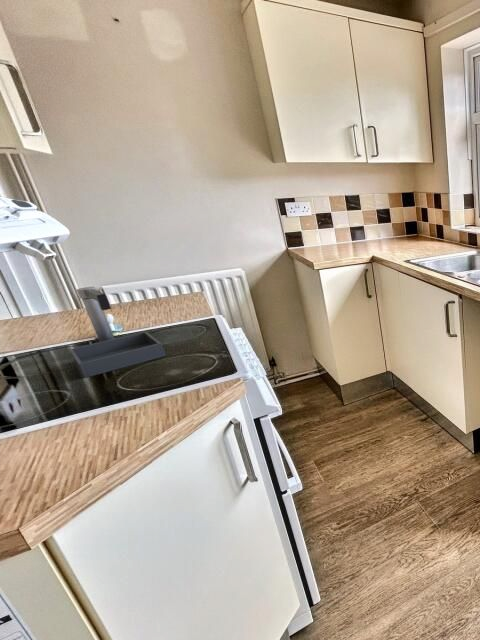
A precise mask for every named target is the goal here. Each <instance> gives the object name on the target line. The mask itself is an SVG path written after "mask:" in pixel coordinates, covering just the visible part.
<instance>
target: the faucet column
mask: <svg viewBox="0 0 480 640" xmlns="http://www.w3.org/2000/svg"><path fill="white" fill-rule="evenodd" d="M81 301H82V303H83V306H84V308H85V311H86V313H87V315H88V318H89V320H90V322H91V324H92V327H93V329H94V331H95V335H96V334H97V336H98V338H97V339H98V341H99V342H103V341H107V340H112V339H116V338H115V336H114V335H113V333H112V331H111V328H110V326H109V323H108V321H107V318H106V317H107V315H106V314H105V313H106V312H105V310H101V309H100V307H99V304H98V302H97V301H96V300H94V299H91V298H86V299H81Z"/></svg>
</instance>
